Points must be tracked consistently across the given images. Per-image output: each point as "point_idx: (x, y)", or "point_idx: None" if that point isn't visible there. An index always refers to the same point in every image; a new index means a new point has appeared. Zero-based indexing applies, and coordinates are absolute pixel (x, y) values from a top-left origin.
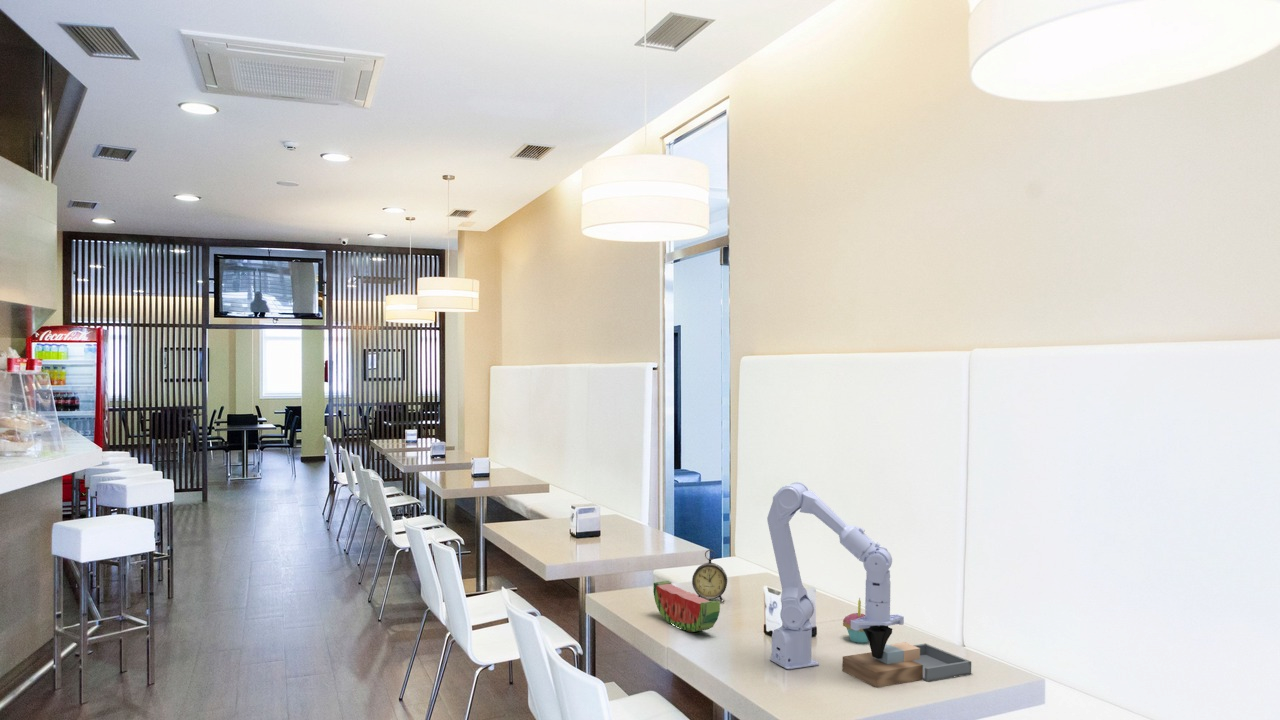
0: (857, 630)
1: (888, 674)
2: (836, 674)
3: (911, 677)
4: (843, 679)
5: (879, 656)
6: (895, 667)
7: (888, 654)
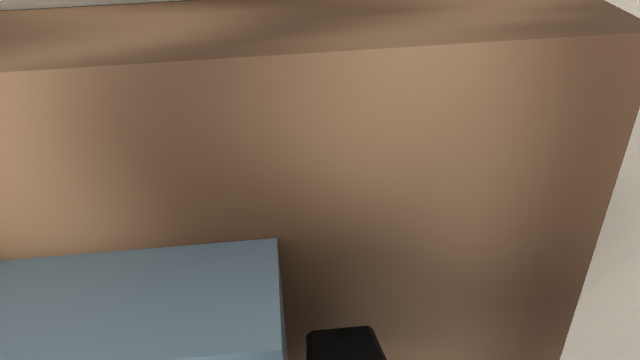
0: None
1: (428, 25)
2: (583, 314)
3: (34, 22)
4: (632, 229)
5: (358, 344)
6: (251, 120)
7: (263, 331)
